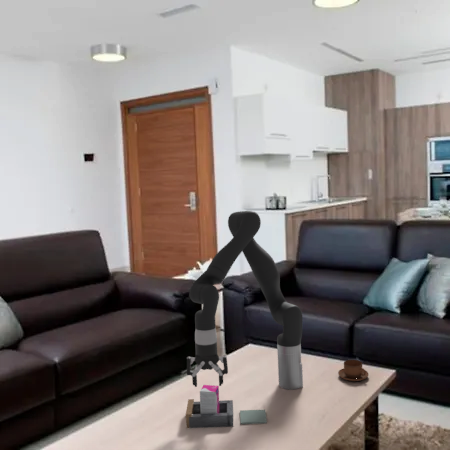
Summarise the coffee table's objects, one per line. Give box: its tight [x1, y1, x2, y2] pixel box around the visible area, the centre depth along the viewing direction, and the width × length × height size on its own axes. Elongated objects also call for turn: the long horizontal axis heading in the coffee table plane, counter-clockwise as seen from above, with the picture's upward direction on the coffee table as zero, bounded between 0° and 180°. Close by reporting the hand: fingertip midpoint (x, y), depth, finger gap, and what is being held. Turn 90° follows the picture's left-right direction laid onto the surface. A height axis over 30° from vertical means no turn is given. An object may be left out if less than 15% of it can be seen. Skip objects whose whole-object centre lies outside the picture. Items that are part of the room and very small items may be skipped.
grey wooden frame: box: [185, 398, 234, 429], centre depth 184 cm, size 16×12×5 cm
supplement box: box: [199, 384, 220, 414], centre depth 184 cm, size 6×6×12 cm
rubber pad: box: [239, 409, 268, 425], centre depth 184 cm, size 9×9×1 cm
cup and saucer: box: [337, 359, 369, 382], centre depth 214 cm, size 12×12×6 cm
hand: (208, 385), depth 183 cm, fingers open, 8 cm apart
